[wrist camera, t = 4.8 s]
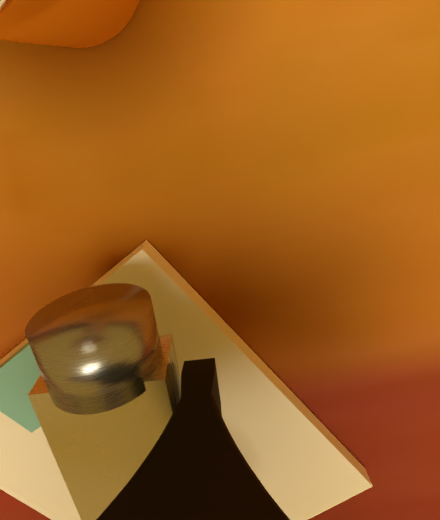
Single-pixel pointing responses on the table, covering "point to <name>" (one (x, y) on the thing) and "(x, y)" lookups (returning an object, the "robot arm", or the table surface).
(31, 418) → the base
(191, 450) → the robot arm
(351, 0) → the table surface
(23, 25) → the cup with straw
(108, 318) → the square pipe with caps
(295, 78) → the table surface
